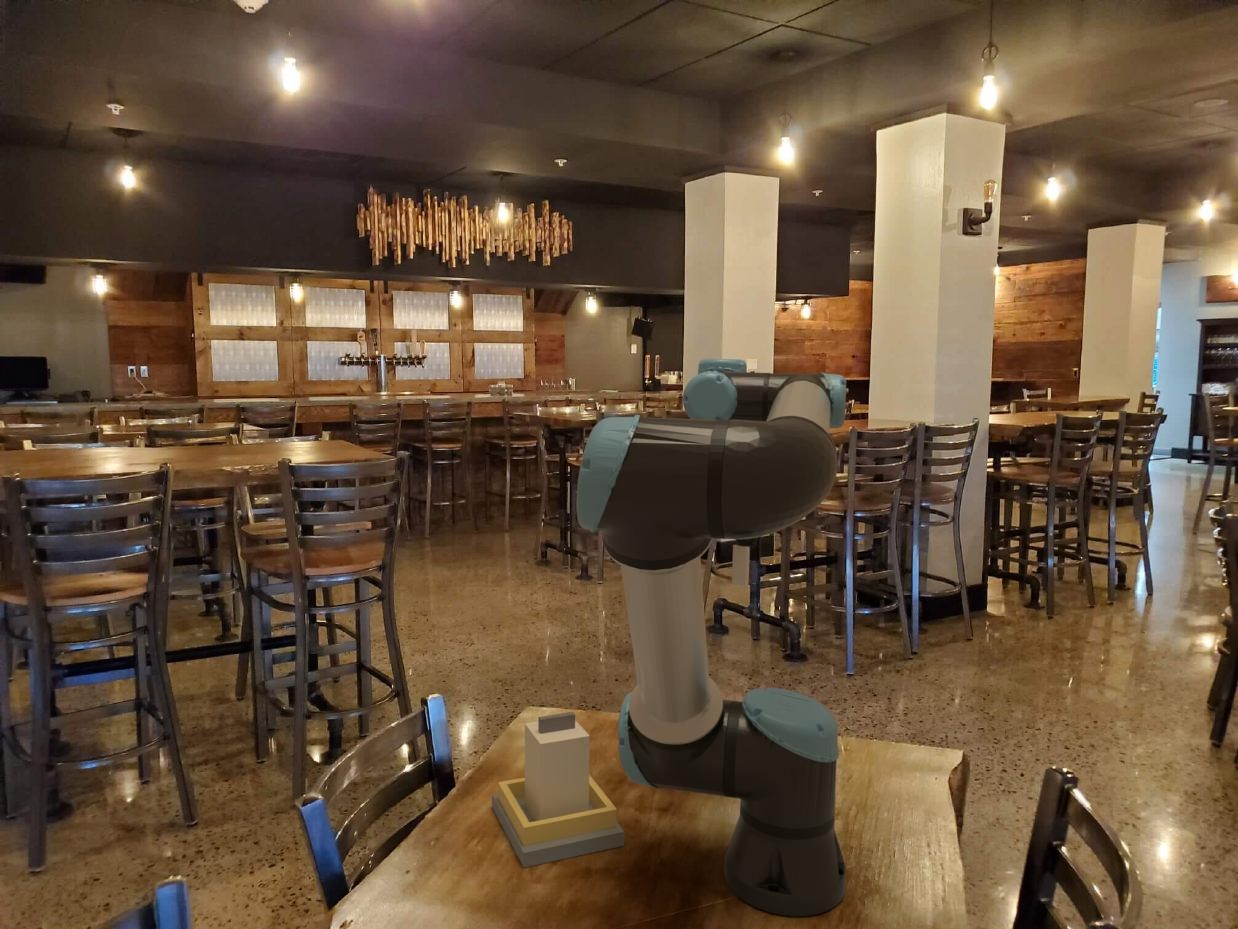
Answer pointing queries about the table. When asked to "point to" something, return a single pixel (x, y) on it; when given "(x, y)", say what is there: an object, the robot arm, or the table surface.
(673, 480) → the robot arm
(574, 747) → the beige rectangular block
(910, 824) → the table surface
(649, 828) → the table surface
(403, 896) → the table surface
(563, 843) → the tray
